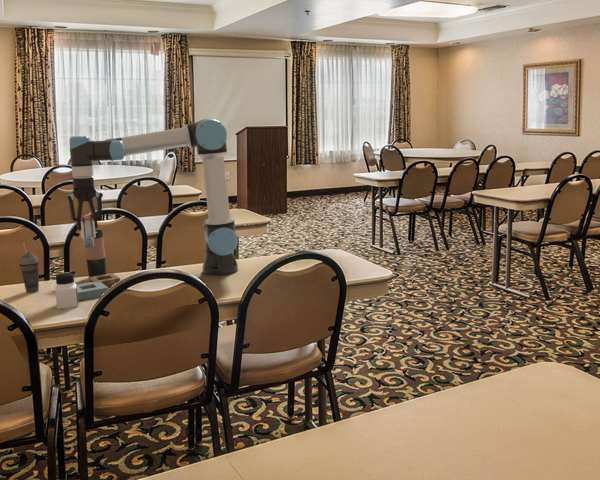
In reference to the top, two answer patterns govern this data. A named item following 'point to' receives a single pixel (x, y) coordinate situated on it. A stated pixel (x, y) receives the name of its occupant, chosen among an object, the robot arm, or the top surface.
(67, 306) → the medicine bottle
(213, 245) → the robot arm
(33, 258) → the beverage cup
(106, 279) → the mount
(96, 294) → the socket
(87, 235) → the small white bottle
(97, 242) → the travel mug
